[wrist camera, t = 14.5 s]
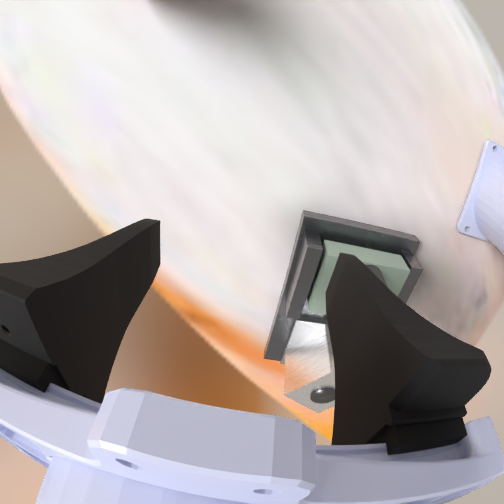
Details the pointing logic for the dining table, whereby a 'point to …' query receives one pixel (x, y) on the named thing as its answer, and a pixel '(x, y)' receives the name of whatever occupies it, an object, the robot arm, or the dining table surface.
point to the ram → (379, 262)
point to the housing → (311, 371)
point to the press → (305, 265)
